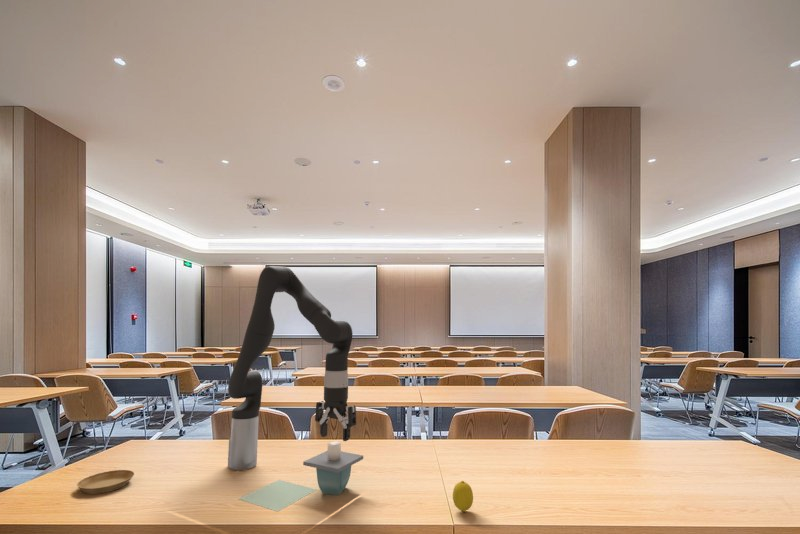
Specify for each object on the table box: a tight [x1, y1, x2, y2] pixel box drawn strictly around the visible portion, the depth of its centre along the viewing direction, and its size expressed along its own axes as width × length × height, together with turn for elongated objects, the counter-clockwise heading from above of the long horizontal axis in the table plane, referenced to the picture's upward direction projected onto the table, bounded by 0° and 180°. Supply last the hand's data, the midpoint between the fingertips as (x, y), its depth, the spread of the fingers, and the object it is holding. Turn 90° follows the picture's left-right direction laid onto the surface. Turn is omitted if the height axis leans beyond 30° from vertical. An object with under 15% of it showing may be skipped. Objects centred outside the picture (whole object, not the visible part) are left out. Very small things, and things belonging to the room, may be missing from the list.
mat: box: [238, 479, 318, 512], centre depth 119 cm, size 16×16×1 cm
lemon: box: [452, 480, 474, 513], centre depth 109 cm, size 6×6×8 cm
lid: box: [302, 441, 364, 473], centre depth 123 cm, size 13×13×5 cm
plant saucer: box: [76, 469, 135, 495], centre depth 127 cm, size 15×15×3 cm
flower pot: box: [315, 465, 352, 496], centre depth 122 cm, size 9×9×9 cm
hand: (334, 438), depth 123 cm, fingers open, 8 cm apart
